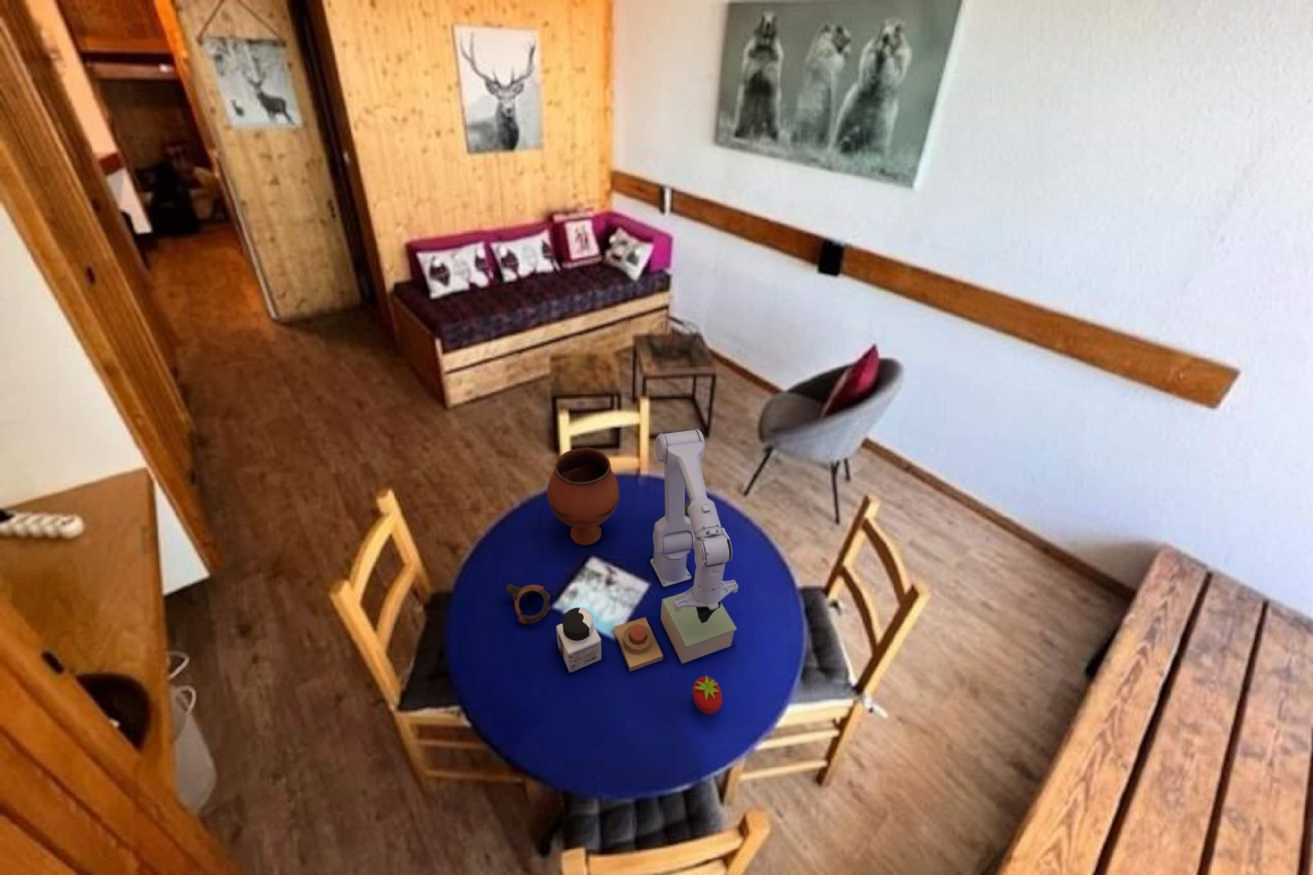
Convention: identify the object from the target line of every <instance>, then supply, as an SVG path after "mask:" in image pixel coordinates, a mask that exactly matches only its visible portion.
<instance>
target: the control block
mask: <svg viewBox="0 0 1313 875" xmlns="http://www.w3.org/2000/svg"><path fill="white" fill-rule="evenodd" d="M636 626H640V627H643V628H644V629H645V631H646V639H645V641H644V642H643V643H642V644H634V643H633V642H632V641H631V640H630V631H631V629H632V628H634V627H636ZM613 633H614V636H615V639H616V641H617V643H618V646H619V648H620V650H621V654H622V656H623V658H624V661H625V664H626V666H627V669H628V671H629V672H632V671H636V670H638V669H641V668H645V667H646V666H649V665H652V664H655V663H658V662H661V661H663V660H664V654H663V653H662V650H661V649H660V646H659V644H658V641H657V639H656V638H655V635H654V633H653V631H652V629H651V627H650V624H649V623H648V620H647V617H646V616H644V617H641V618H637V619H635V620H632V621H628V622H625V623H622V624H619V625H616V626H613Z"/></svg>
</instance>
